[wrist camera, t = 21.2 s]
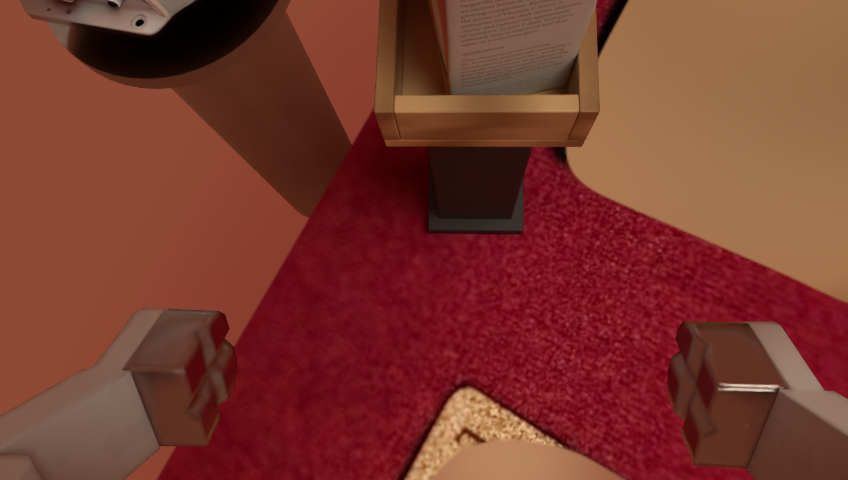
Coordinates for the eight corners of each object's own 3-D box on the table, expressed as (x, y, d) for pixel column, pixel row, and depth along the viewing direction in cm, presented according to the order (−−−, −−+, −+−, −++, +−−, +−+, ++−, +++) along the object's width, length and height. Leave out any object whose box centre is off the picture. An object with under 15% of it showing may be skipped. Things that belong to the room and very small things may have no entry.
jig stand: (428, 233, 52) (398, 116, 29) (431, 146, 54) (404, -32, 30) (522, 234, 51) (569, 115, 28) (521, 146, 53) (565, -34, 30)
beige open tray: (385, 146, 28) (373, 112, 25) (395, -58, 31) (385, -117, 27) (582, 147, 28) (600, 112, 24) (575, -62, 30) (591, -123, 26)
